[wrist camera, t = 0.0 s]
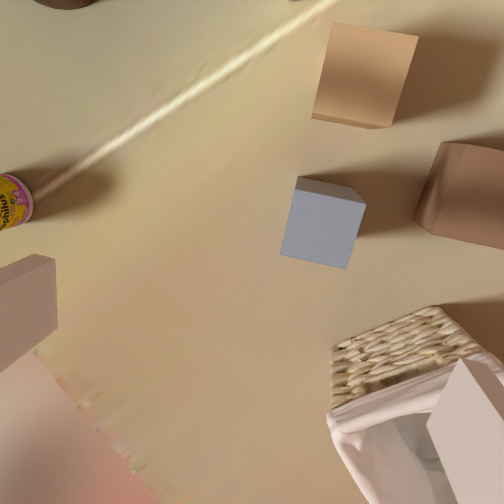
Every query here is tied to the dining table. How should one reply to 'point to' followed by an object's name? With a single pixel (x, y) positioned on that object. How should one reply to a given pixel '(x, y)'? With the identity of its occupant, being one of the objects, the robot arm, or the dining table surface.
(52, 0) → the wooden container
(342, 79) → the oak block
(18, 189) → the supplement bottle
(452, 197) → the base block
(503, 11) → the dining table surface
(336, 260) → the blue block
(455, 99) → the dining table surface
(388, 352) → the storage basket
